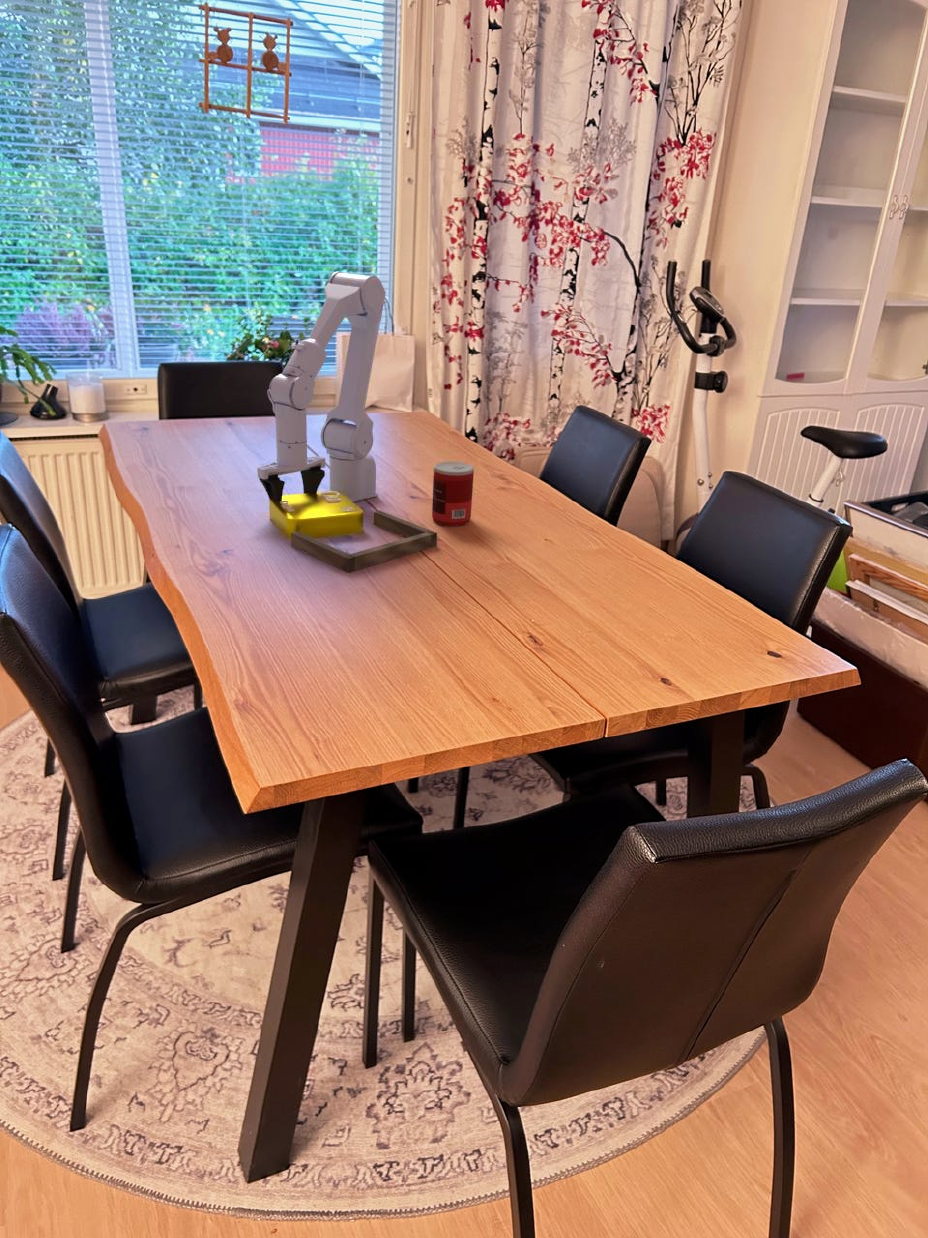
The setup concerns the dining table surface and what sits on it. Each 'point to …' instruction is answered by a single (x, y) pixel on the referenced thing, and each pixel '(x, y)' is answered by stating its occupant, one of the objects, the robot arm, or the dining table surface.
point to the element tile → (316, 514)
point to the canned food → (452, 493)
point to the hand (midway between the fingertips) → (293, 508)
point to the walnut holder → (412, 543)
